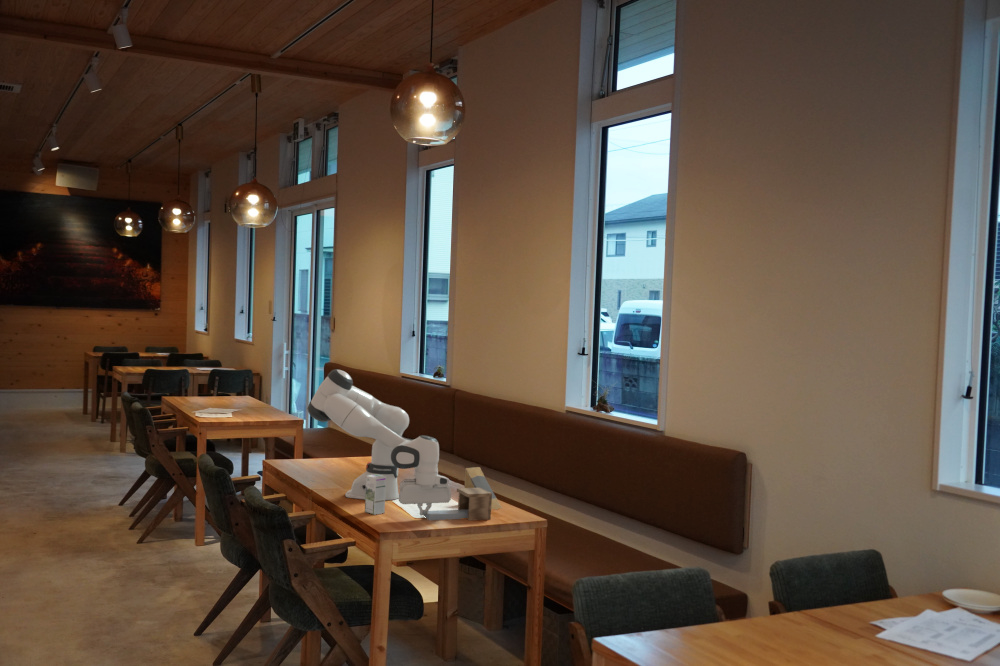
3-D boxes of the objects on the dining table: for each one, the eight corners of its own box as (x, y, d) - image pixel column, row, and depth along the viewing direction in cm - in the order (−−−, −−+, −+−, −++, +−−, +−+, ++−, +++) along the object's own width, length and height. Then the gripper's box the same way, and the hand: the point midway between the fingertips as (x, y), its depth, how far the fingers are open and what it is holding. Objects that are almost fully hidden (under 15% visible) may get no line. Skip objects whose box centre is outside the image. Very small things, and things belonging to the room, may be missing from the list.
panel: (429, 520, 330) (429, 514, 330) (423, 517, 335) (423, 511, 335) (476, 518, 338) (477, 512, 338) (470, 515, 344) (471, 509, 344)
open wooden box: (466, 520, 333) (468, 494, 333) (455, 514, 343) (456, 488, 343) (490, 519, 337) (492, 493, 337) (478, 512, 347) (480, 487, 347)
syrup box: (385, 513, 337) (387, 476, 337) (373, 515, 332) (375, 477, 332) (375, 510, 341) (377, 473, 341) (363, 512, 336) (366, 475, 336)
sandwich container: (488, 510, 353) (490, 474, 353) (462, 503, 364) (464, 468, 364) (503, 508, 359) (505, 472, 359) (477, 501, 370) (479, 466, 370)
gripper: (402, 480, 323) (400, 517, 324) (453, 479, 332) (451, 515, 332) (397, 477, 329) (395, 513, 329) (447, 476, 338) (445, 511, 338)
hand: (423, 514), depth 331 cm, fingers closed
